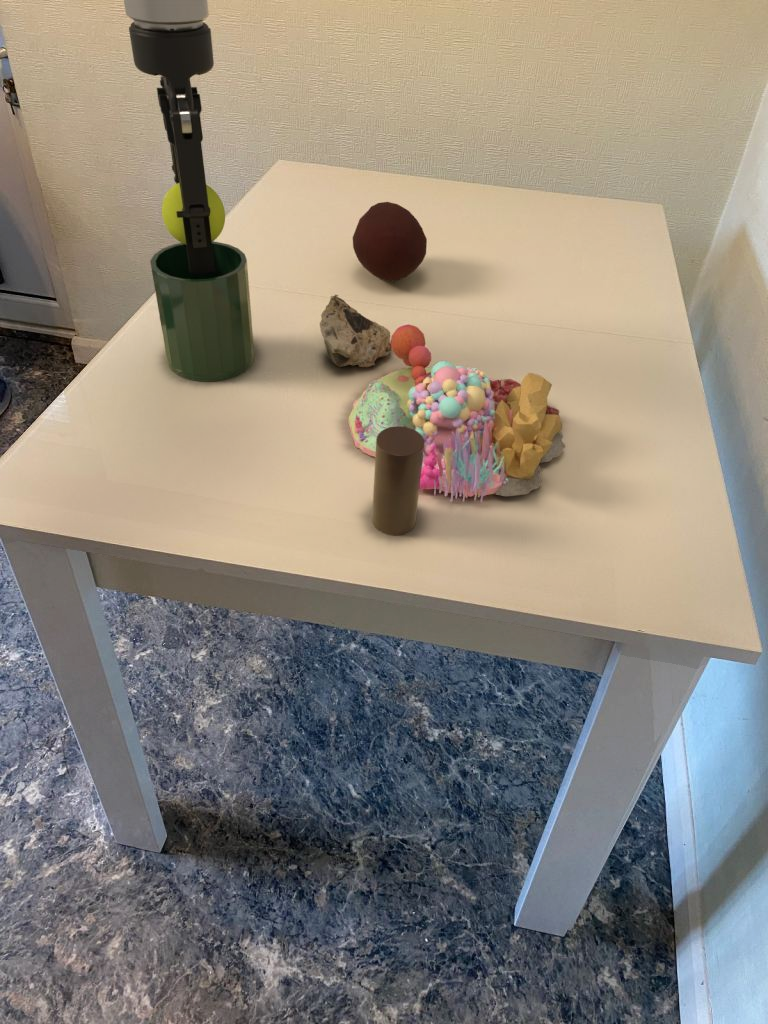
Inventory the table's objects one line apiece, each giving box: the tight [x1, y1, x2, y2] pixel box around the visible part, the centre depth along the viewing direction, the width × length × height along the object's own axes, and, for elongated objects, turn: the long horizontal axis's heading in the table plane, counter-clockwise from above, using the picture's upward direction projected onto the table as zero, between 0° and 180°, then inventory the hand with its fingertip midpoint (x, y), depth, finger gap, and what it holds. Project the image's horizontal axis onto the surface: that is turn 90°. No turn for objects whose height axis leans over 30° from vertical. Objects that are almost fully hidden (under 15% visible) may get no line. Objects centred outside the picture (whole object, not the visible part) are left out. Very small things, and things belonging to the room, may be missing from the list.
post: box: [371, 426, 424, 536], centre depth 70 cm, size 4×4×10 cm
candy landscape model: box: [347, 324, 566, 503], centre depth 82 cm, size 25×24×9 cm
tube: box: [149, 240, 255, 382], centre depth 89 cm, size 11×11×13 cm
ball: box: [161, 183, 226, 245], centre depth 81 cm, size 7×7×7 cm
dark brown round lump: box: [352, 201, 428, 282], centre depth 110 cm, size 11×13×10 cm
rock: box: [319, 294, 392, 368], centre depth 94 cm, size 9×7×10 cm
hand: (198, 257), depth 85 cm, fingers closed on ball, 7 cm apart
